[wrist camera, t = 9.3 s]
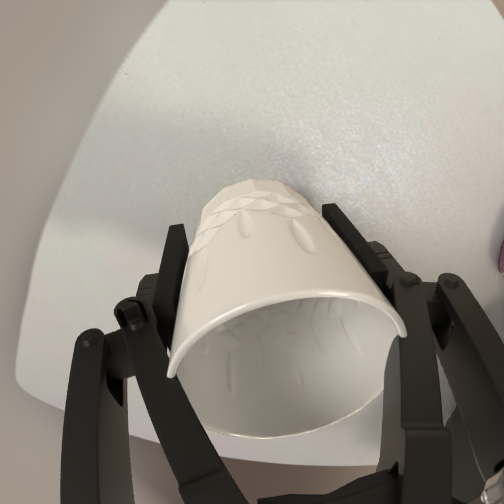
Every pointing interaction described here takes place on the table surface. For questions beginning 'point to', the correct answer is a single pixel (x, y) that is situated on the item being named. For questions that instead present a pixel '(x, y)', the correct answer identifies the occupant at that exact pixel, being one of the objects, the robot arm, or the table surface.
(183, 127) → the table surface
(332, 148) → the table surface
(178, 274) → the robot arm
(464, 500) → the bowl
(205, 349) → the white cup
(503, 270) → the plum dish
